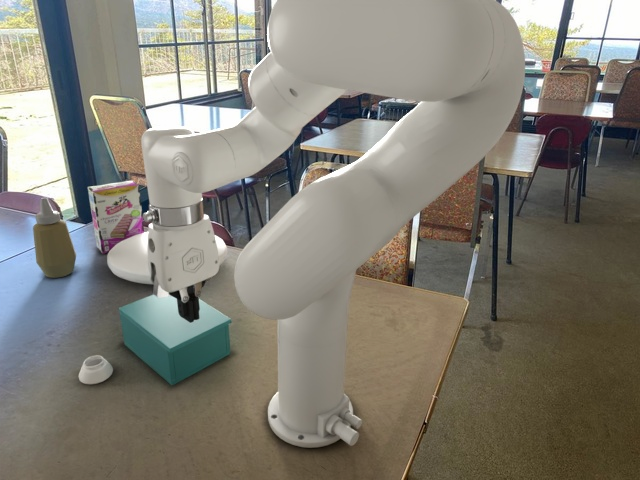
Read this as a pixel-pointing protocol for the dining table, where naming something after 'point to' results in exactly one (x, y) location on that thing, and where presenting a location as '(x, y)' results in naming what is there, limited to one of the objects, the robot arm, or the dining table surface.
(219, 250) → the plate
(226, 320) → the lunchbox lid
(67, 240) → the squeeze bottle
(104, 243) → the candy bar box
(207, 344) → the box
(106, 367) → the white jar
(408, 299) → the dining table surface
